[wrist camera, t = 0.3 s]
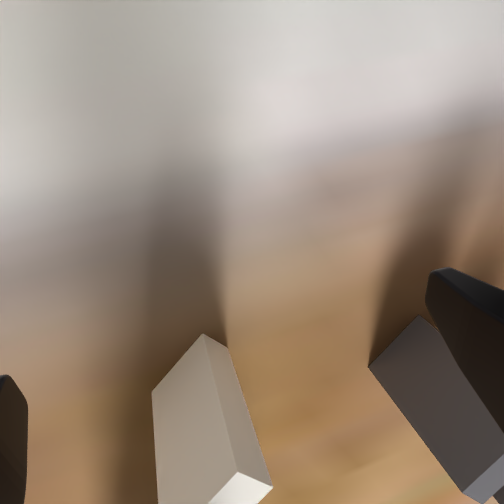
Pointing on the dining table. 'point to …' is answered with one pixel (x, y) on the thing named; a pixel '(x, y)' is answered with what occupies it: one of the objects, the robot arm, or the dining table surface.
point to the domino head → (206, 433)
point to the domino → (443, 408)
